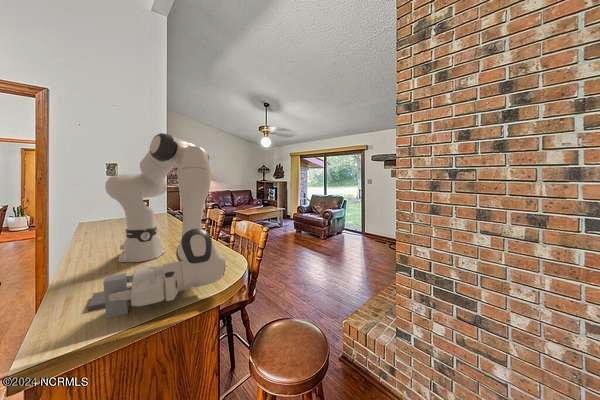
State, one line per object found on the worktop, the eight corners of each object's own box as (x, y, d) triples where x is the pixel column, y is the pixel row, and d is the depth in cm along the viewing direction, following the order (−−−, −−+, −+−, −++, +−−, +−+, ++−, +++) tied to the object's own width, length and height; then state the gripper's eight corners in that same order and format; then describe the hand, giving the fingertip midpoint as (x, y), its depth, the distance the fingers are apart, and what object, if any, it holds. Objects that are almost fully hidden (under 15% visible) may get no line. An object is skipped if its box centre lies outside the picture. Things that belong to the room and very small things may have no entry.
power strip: (94, 300, 75) (93, 291, 74) (174, 283, 86) (173, 275, 86) (88, 314, 67) (87, 304, 67) (177, 293, 79) (176, 285, 78)
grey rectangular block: (108, 314, 67) (105, 276, 66) (128, 309, 69) (126, 272, 68) (106, 322, 63) (103, 282, 62) (127, 317, 66) (124, 278, 64)
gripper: (166, 257, 81) (114, 265, 73) (172, 280, 64) (105, 293, 56) (167, 275, 81) (116, 285, 74) (173, 302, 64) (107, 319, 57)
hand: (111, 289), depth 65 cm, fingers open, 8 cm apart
